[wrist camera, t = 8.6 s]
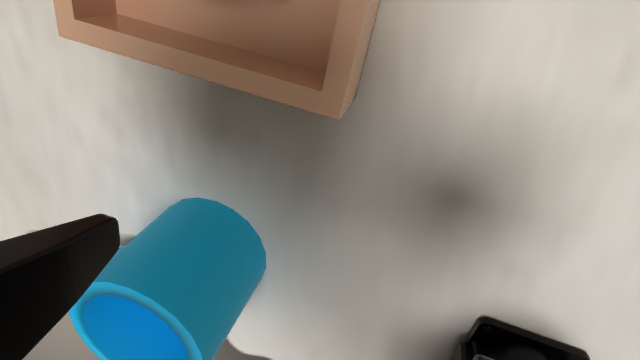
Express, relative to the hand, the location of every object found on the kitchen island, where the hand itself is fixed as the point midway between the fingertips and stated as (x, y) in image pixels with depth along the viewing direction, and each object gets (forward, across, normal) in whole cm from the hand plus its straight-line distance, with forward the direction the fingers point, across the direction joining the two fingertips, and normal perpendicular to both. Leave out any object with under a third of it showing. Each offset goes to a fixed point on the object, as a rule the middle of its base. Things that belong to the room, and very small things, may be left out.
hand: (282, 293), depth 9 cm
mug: (+13, +10, +13) cm, 21 cm away
